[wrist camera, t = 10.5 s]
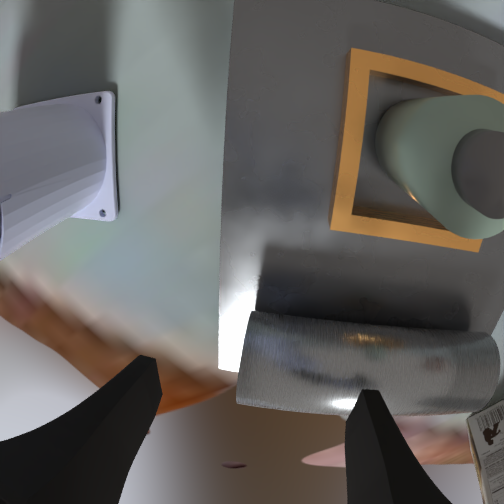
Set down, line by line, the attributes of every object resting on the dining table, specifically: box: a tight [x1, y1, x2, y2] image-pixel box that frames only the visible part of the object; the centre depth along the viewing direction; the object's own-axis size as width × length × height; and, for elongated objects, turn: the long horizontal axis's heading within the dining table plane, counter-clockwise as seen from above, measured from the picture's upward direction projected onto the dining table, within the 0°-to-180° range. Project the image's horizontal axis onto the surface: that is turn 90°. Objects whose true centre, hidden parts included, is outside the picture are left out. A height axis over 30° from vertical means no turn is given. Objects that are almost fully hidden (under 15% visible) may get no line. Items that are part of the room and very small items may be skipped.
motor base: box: [219, 0, 504, 416], centre depth 13 cm, size 18×22×7 cm
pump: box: [375, 95, 504, 239], centre depth 9 cm, size 4×4×7 cm
